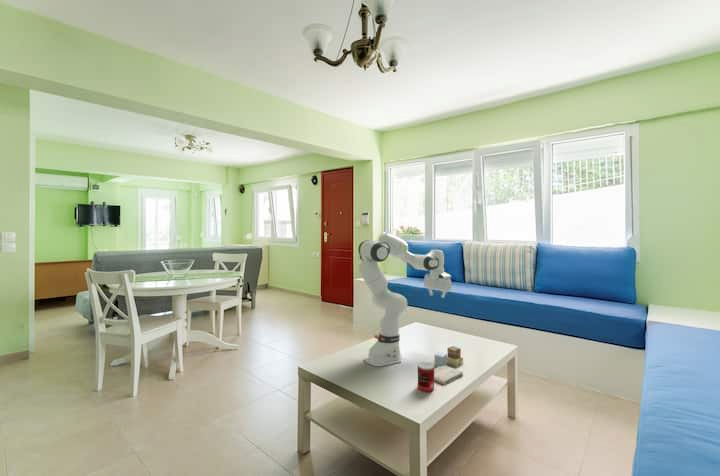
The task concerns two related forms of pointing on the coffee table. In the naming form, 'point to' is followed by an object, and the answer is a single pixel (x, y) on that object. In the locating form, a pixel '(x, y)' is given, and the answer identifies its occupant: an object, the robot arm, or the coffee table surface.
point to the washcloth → (446, 374)
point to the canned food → (426, 377)
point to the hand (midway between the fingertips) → (437, 296)
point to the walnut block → (454, 352)
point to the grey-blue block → (440, 359)
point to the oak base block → (454, 361)
